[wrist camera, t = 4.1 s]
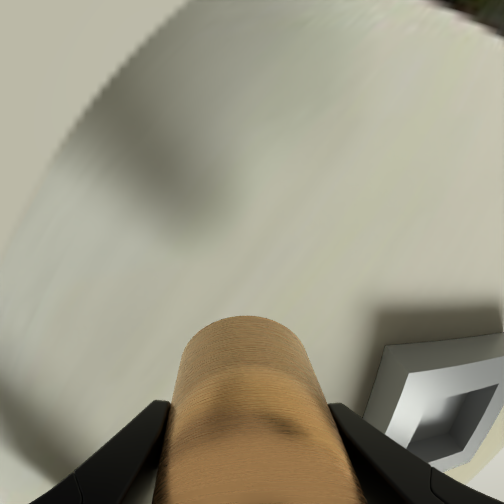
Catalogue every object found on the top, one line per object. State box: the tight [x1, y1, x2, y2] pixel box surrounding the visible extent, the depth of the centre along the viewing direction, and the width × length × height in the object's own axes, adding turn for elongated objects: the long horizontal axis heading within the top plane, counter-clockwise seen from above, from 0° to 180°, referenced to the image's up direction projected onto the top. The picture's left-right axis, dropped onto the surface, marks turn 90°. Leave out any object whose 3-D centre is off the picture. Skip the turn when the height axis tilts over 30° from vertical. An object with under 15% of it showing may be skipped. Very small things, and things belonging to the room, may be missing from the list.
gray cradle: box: [363, 332, 504, 472], centre depth 17 cm, size 11×11×3 cm
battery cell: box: [152, 316, 367, 504], centre depth 6 cm, size 4×4×8 cm
